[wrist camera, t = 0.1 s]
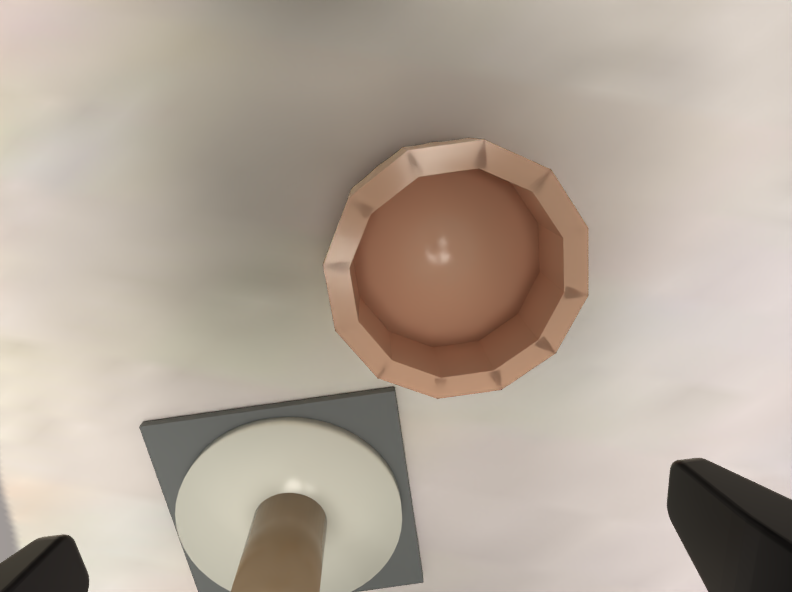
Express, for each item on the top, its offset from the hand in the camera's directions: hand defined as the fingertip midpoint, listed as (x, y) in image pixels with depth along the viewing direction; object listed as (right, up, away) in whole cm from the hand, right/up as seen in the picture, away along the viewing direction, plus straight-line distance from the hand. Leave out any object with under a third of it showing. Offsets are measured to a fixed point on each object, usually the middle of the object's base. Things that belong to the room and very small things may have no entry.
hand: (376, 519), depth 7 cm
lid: (-5, -8, +17) cm, 20 cm away
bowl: (+2, +5, +14) cm, 15 cm away
